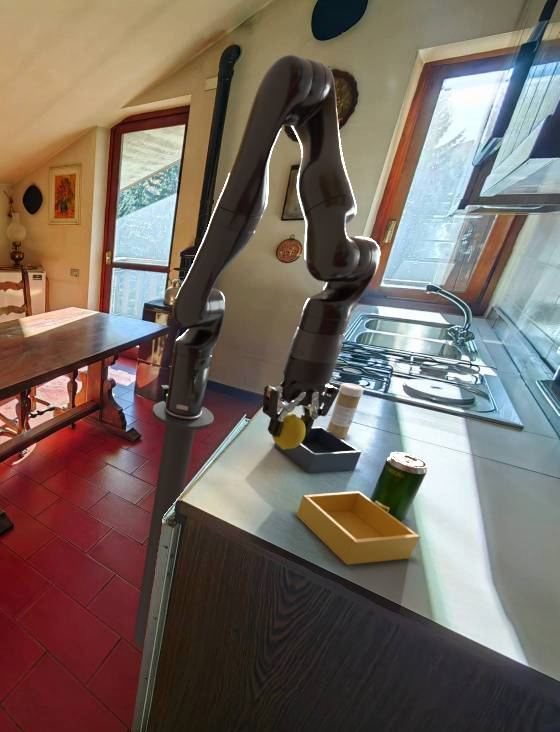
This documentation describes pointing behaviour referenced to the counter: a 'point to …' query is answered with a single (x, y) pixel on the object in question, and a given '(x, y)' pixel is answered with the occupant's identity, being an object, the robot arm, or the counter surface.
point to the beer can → (399, 483)
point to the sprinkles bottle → (344, 409)
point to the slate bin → (323, 452)
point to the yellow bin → (356, 527)
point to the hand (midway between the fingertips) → (287, 434)
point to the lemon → (291, 432)
